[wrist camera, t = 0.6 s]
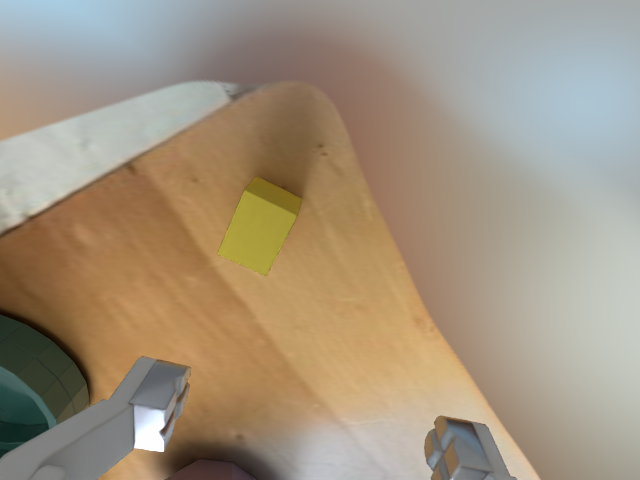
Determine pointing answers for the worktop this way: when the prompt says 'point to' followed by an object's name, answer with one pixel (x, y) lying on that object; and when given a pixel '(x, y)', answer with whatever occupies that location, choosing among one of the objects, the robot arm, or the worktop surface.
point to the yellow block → (260, 225)
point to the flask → (211, 471)
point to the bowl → (34, 385)
